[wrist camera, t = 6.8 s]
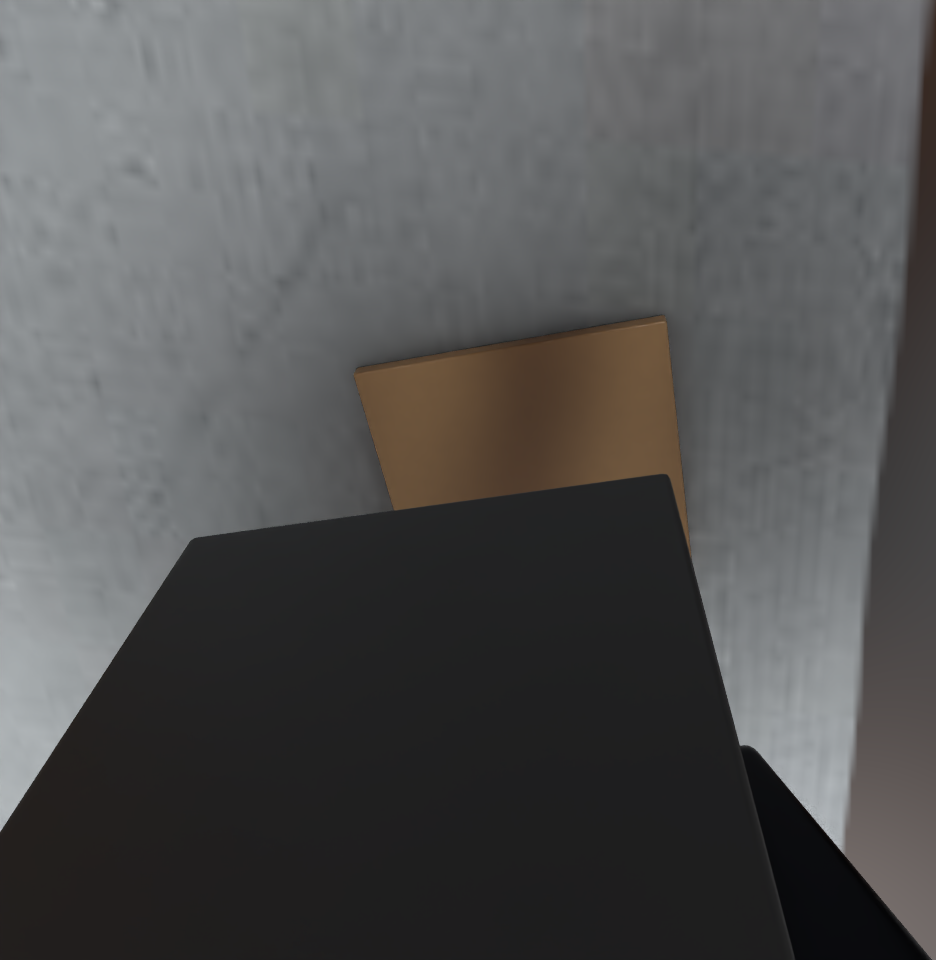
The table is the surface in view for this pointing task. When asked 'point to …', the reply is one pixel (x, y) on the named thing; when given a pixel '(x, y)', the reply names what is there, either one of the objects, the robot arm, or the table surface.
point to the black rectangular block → (407, 752)
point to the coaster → (527, 415)
